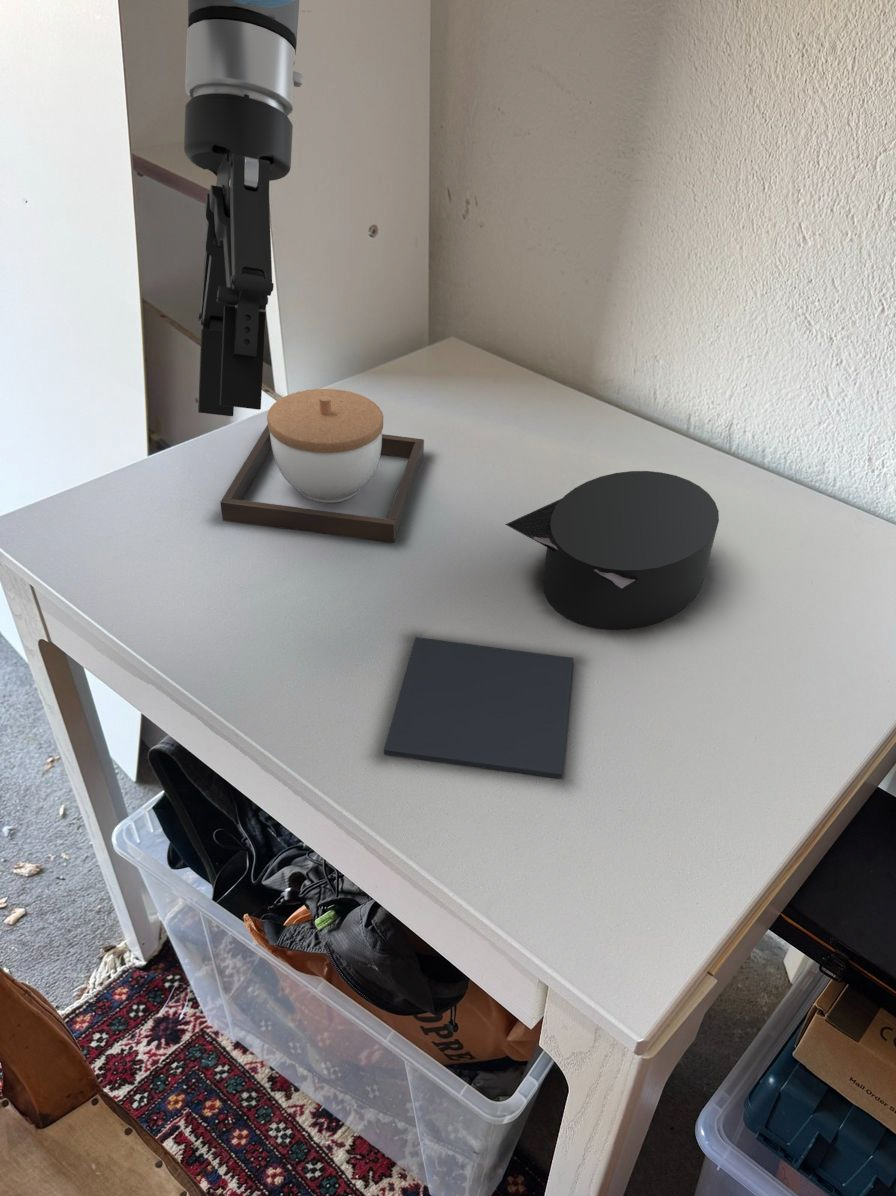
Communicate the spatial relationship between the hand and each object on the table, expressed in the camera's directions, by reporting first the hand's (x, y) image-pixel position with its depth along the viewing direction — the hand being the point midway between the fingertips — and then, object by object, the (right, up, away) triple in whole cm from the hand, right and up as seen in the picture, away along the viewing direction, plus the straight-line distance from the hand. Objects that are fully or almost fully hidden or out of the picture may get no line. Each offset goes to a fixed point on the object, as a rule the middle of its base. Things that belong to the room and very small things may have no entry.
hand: (226, 411), depth 76 cm
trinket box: (+4, -2, +23) cm, 23 cm away
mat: (+19, -22, +2) cm, 30 cm away
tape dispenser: (+32, -11, +16) cm, 37 cm away
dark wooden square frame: (+4, -1, +23) cm, 23 cm away
